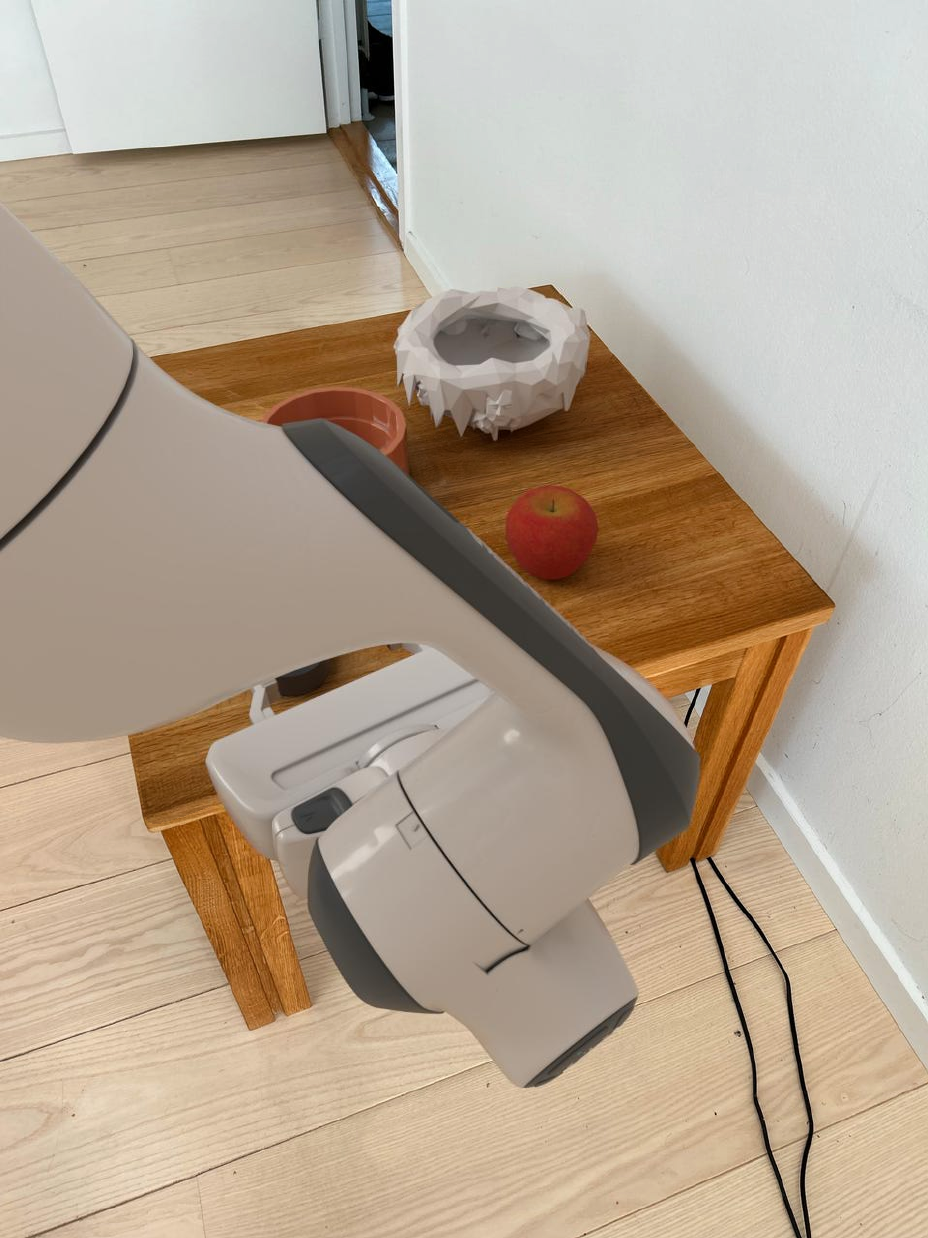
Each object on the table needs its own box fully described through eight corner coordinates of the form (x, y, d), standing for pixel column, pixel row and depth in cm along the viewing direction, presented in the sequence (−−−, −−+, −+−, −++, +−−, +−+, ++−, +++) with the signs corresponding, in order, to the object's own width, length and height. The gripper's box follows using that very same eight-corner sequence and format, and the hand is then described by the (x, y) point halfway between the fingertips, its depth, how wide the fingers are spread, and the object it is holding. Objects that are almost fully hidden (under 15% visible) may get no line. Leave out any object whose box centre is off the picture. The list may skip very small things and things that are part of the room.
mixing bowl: (335, 548, 85) (328, 492, 80) (239, 486, 91) (226, 431, 86) (437, 478, 92) (435, 422, 87) (341, 425, 98) (335, 371, 93)
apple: (596, 596, 80) (605, 528, 74) (505, 596, 80) (507, 528, 75) (589, 537, 85) (597, 469, 80) (503, 537, 86) (506, 469, 80)
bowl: (609, 454, 94) (620, 367, 87) (409, 474, 92) (404, 386, 85) (563, 349, 108) (569, 266, 101) (389, 364, 106) (383, 281, 99)
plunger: (292, 707, 72) (246, 505, 57) (245, 671, 75) (190, 469, 60) (344, 666, 75) (313, 464, 60) (298, 633, 77) (258, 431, 63)
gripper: (577, 696, 55) (459, 559, 63) (252, 855, 48) (166, 677, 56) (568, 758, 59) (459, 623, 68) (270, 912, 52) (189, 740, 60)
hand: (324, 648), depth 62 cm, fingers open, 8 cm apart
